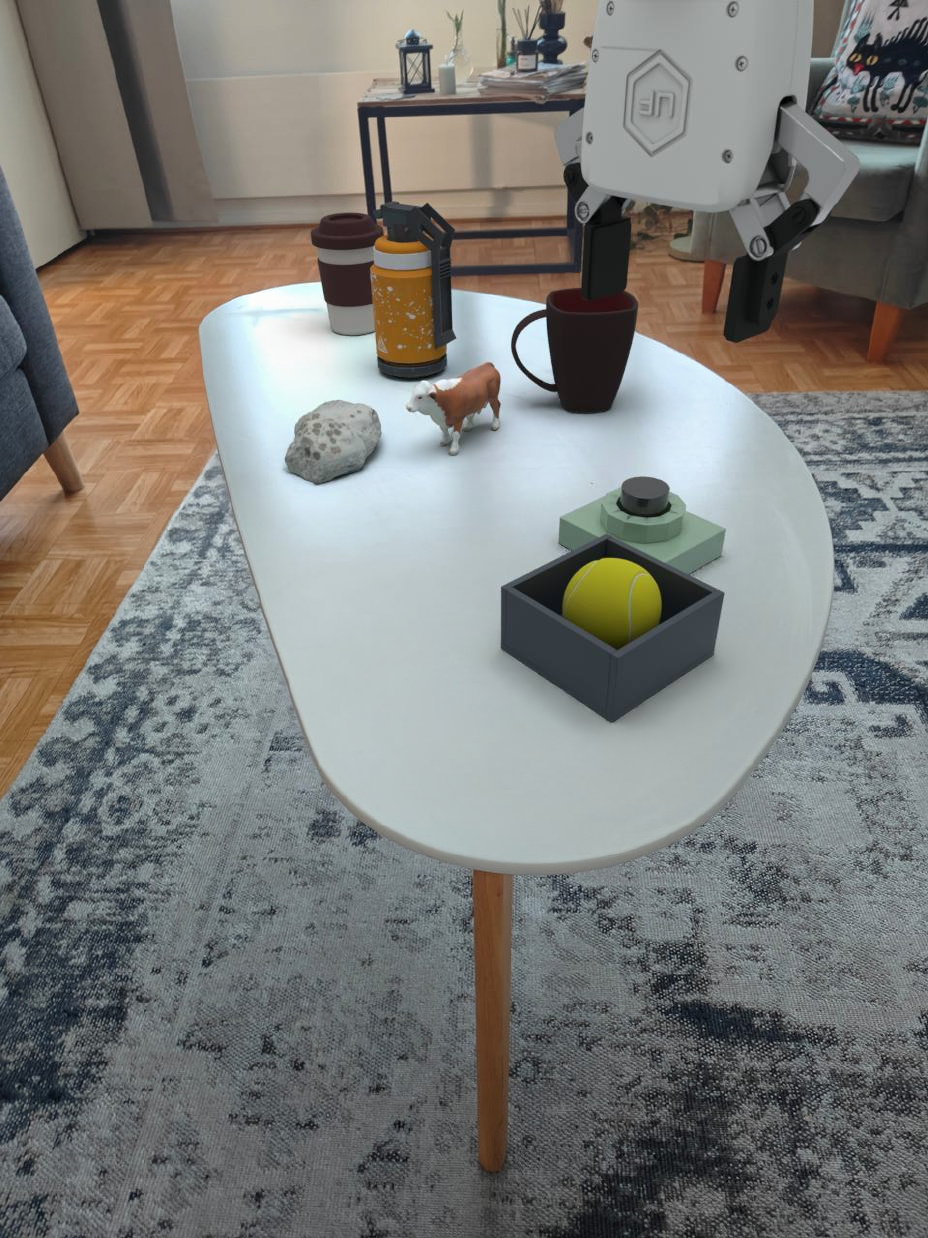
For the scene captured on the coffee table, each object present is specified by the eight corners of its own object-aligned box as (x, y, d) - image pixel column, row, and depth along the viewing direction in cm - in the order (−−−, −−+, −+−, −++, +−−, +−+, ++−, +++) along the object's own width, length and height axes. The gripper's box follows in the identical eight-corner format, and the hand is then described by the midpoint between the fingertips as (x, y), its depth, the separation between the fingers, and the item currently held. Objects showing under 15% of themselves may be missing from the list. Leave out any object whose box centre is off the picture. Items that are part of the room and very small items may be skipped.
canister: (407, 352, 121) (398, 191, 110) (474, 368, 116) (471, 200, 104) (363, 372, 116) (348, 204, 104) (431, 390, 110) (424, 215, 99)
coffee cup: (352, 313, 136) (342, 206, 127) (403, 324, 131) (397, 214, 123) (307, 331, 130) (293, 220, 121) (359, 343, 125) (349, 228, 116)
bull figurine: (402, 456, 95) (397, 382, 90) (483, 416, 103) (483, 346, 99) (432, 468, 93) (429, 392, 88) (513, 426, 101) (514, 354, 96)
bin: (713, 655, 67) (725, 592, 63) (611, 723, 61) (618, 658, 58) (601, 592, 74) (606, 533, 70) (500, 648, 68) (500, 586, 65)
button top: (676, 509, 76) (679, 487, 75) (646, 525, 74) (648, 503, 73) (640, 492, 79) (642, 471, 78) (609, 507, 77) (611, 486, 76)
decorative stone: (279, 439, 99) (273, 396, 97) (376, 427, 102) (372, 384, 99) (290, 488, 90) (283, 442, 87) (396, 474, 92) (393, 428, 89)
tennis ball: (670, 635, 68) (681, 556, 64) (633, 687, 63) (642, 605, 59) (585, 608, 71) (591, 531, 67) (544, 656, 66) (547, 576, 62)
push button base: (721, 555, 78) (729, 509, 75) (654, 594, 73) (660, 547, 71) (625, 510, 85) (629, 466, 82) (558, 543, 80) (560, 498, 77)
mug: (637, 418, 102) (647, 311, 95) (515, 424, 101) (517, 317, 94) (618, 385, 110) (626, 284, 103) (505, 391, 109) (506, 290, 102)
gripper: (513, -80, 42) (510, 295, 52) (854, -108, 31) (767, 374, 41) (621, -79, 46) (599, 270, 56) (958, -103, 35) (855, 336, 45)
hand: (670, 314), depth 48 cm, fingers open, 9 cm apart
